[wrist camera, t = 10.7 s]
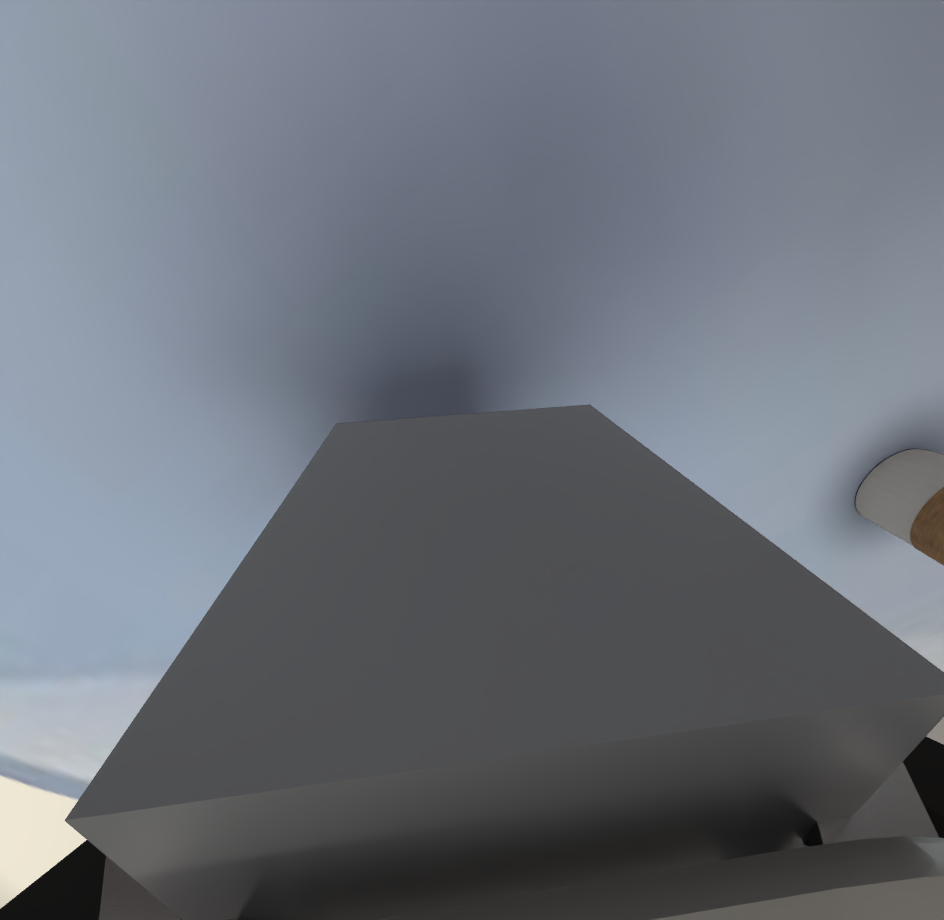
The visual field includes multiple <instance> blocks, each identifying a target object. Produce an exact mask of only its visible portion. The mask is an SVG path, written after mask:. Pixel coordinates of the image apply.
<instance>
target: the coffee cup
mask: <svg viewBox="0 0 944 920" xmlns="http://www.w3.org/2000/svg"><path fill="white" fill-rule="evenodd" d="M855 503H856V508H857V511H858V512H859V513H860V515H861V516H863V517H864V518H866V519H868V520H870V521H871V522H873V523H875V524H876V525H878V526H880V527H881V528H883V529H885V530H887V531H888V532H890V533H892V534H893V535H895V536H897V537H899V538H900V539H902V540H904V541H905V542H907V543H909V544H911V545H912V546H914V547H915V548H916V549H918V550H919V551H921V552H922V553H924V554H926V555H927V556H929V557H931V558H932V559H934V560H936V561H937V562H939V563H940V564H942V565H944V455H943V454H939V453H935V452H931V451H926V450H922V449H911V450H906V451H903V452H900V453H897V454H895V455H893V456H891V457H889V458H888V459H886V460H885V461H883V462H882V463H880V464H879V465H878V466H877V467H876V468H874V469H873V470H872V471H871V473H870V474H869V475H868V476H867V477H866V478H865V480H864V481H863V483H862V484H861V486H860V488H859V490H858V493H857V495H856V501H855Z"/></svg>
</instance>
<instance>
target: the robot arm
mask: <svg viewBox="0 0 944 920" xmlns="http://www.w3.org/2000/svg"><path fill="white" fill-rule="evenodd" d="M802 840H803V844H804V845H806V846H808V847H803V848H796V849H789V850H782V851H776V852H770V853H764V854H758V855H752V856H746V857H740V858H734V859H728V860H722V861H716V862H710V863H703V864H697V865H691V866H685V867H679V868H673V869H667V870H661V871H655V872H649V873H643V874H638V875H632V876H626V877H620V878H614V879H608V880H603V881H597V882H591V883H585V884H579V885H573V886H568V887H562V888H556V889H550V890H544V891H539V892H533V893H527V894H521V895H516V896H510V897H504V898H498V899H492V900H487V901H481V902H475V903H469V904H464V905H458V906H453V907H447V908H441V909H436V910H430V911H424V912H419V913H413V914H408V915H402V916H396V917H391V918H385V919H380V920H944V745H943V744H941V743H939V742H936V741H934V740H932V739H930V738H928V737H925V738H924V739H923V740H922V741H921V742H920V743H919V744H918V745H917V746H916V747H915V749H914V750H913V751H912V752H911V753H910V754H909V755H908V756H907V757H906V758H905V760H904V761H903V762H902V763H901V764H900V765H899V766H898V767H897V768H896V769H895V770H894V772H893V773H892V774H891V775H890V776H889V777H888V778H887V779H886V780H885V781H884V783H883V784H882V785H881V786H880V787H879V788H878V789H877V790H876V791H875V792H874V793H873V795H872V796H871V797H870V798H869V799H868V800H867V801H866V802H865V803H864V804H863V806H862V807H861V808H860V809H859V810H858V811H857V812H856V813H855V814H854V815H851V816H845V817H839V818H833V819H827V820H821V821H817V822H816V823H815V824H814V825H813V827H812V828H811V829H810V830H809V831H808V833H807V834H806V835H805V836H804V837H803V839H802ZM0 920H182V919H181V918H180V917H179V916H177V915H176V914H175V913H174V912H173V911H171V910H170V909H169V908H168V907H167V906H165V905H164V904H163V903H162V902H161V901H159V900H158V899H157V898H156V897H155V896H154V895H152V894H151V893H150V892H149V891H148V890H146V889H145V888H144V887H143V886H142V885H140V884H139V883H138V882H137V881H136V880H135V879H133V878H132V877H131V876H130V875H129V874H127V873H126V872H125V871H124V870H123V869H121V868H120V867H119V866H118V865H117V864H116V863H114V862H113V861H112V860H111V859H110V858H108V857H107V856H106V855H105V854H104V853H102V852H101V851H100V850H99V849H98V848H97V847H95V846H94V845H93V844H92V843H91V842H89V841H88V840H86V841H85V842H84V843H83V844H81V845H80V846H79V847H78V848H76V849H75V850H74V851H73V852H71V853H70V854H69V855H68V856H66V857H65V858H64V859H63V860H61V861H60V862H59V863H57V865H55V866H54V867H52V868H51V869H50V870H49V871H48V872H46V873H45V874H44V875H42V876H41V877H40V878H39V879H38V880H36V881H35V882H34V883H32V884H31V885H30V886H29V887H27V888H26V889H25V890H24V891H22V892H21V893H20V894H19V895H17V896H16V897H15V898H14V899H12V900H11V901H10V902H9V903H7V904H6V905H5V906H3V907H2V908H1V909H0ZM227 920H239V919H238V918H233V919H227Z"/></svg>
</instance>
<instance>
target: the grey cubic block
mask: <svg viewBox="0 0 944 920" xmlns="http://www.w3.org/2000/svg"><path fill="white" fill-rule="evenodd" d="M943 717H944V672H942V671H941V670H940V669H939V668H937V667H936V666H935V665H933V664H932V663H931V662H929V661H928V660H927V659H925V658H924V657H923V656H921V655H920V654H919V653H917V652H916V651H915V650H913V649H912V648H911V647H909V646H908V645H907V644H905V643H904V642H903V641H902V640H900V639H899V638H898V637H896V636H895V635H894V634H892V633H891V632H890V631H888V630H887V629H886V628H884V627H883V626H882V625H880V624H879V623H878V622H876V621H875V620H874V619H872V618H871V617H870V616H868V615H867V614H866V613H864V612H863V611H862V610H861V609H859V608H858V607H857V606H855V605H854V604H853V603H851V602H850V601H849V600H847V599H846V598H845V597H843V596H842V595H841V594H839V593H838V592H837V591H835V590H834V589H833V588H831V587H830V586H829V585H827V584H826V583H825V582H824V581H822V580H821V579H820V578H818V577H817V576H816V575H814V574H813V573H812V572H810V571H809V570H808V569H806V568H805V567H804V566H802V565H801V564H800V563H798V562H797V561H796V560H794V559H793V558H792V557H790V556H789V555H788V554H787V553H785V552H784V551H783V550H781V549H780V548H779V547H777V546H776V545H775V544H773V543H772V542H771V541H769V540H768V539H767V538H765V537H764V536H763V535H761V534H760V533H759V532H757V531H756V530H755V529H753V528H752V527H751V526H750V525H748V524H747V523H746V522H744V521H743V520H742V519H740V518H739V517H738V516H736V515H735V514H734V513H732V512H731V511H730V510H728V509H727V508H726V507H724V506H723V505H722V504H720V503H719V502H718V501H716V500H715V499H714V498H713V497H711V496H710V495H709V494H707V493H706V492H705V491H703V490H702V489H701V488H699V487H698V486H697V485H695V484H694V483H693V482H691V481H690V480H689V479H687V478H686V477H685V476H683V475H682V474H681V473H679V472H678V471H677V470H676V469H674V468H673V467H672V466H670V465H669V464H668V463H666V462H665V461H664V460H662V459H661V458H660V457H658V456H657V455H656V454H654V453H653V452H652V451H650V450H649V449H648V448H646V447H645V446H644V445H642V444H641V443H640V442H639V441H637V440H636V439H635V438H633V437H632V436H631V435H629V434H628V433H627V432H625V431H624V430H623V429H621V428H620V427H619V426H617V425H616V424H615V423H613V422H612V421H611V420H609V419H608V418H607V417H605V416H604V415H603V414H602V413H600V412H599V411H598V410H596V409H595V408H594V407H592V406H591V405H579V406H566V407H552V408H539V409H526V410H512V411H499V412H486V413H472V414H459V415H446V416H432V417H419V418H406V419H392V420H379V421H365V422H352V423H339V424H336V425H335V426H334V428H333V429H332V431H331V432H330V434H329V435H328V437H327V438H326V440H325V441H324V442H323V444H322V445H321V447H320V448H319V450H318V451H317V453H316V454H315V456H314V457H313V459H312V460H311V461H310V463H309V464H308V466H307V467H306V469H305V470H304V472H303V473H302V475H301V476H300V478H299V479H298V480H297V482H296V483H295V485H294V486H293V488H292V489H291V491H290V492H289V494H288V495H287V497H286V498H285V499H284V501H283V502H282V504H281V505H280V507H279V508H278V510H277V511H276V513H275V514H274V515H273V517H272V518H271V520H270V521H269V523H268V524H267V526H266V527H265V529H264V530H263V532H262V533H261V534H260V536H259V537H258V539H257V540H256V542H255V543H254V545H253V546H252V548H251V549H250V551H249V552H248V553H247V555H246V556H245V558H244V559H243V561H242V562H241V564H240V565H239V567H238V568H237V570H236V571H235V572H234V574H233V575H232V577H231V578H230V580H229V581H228V583H227V584H226V586H225V587H224V589H223V590H222V591H221V593H220V594H219V596H218V597H217V599H216V600H215V602H214V603H213V605H212V606H211V608H210V609H209V610H208V612H207V613H206V615H205V616H204V618H203V619H202V621H201V622H200V624H199V625H198V627H197V628H196V629H195V631H194V632H193V634H192V635H191V637H190V638H189V640H188V641H187V643H186V644H185V645H184V647H183V648H182V650H181V651H180V653H179V654H178V656H177V657H176V659H175V660H174V662H173V663H172V664H171V666H170V667H169V669H168V670H167V672H166V673H165V675H164V676H163V678H162V679H161V681H160V682H159V683H158V685H157V686H156V688H155V689H154V691H153V692H152V694H151V695H150V697H149V698H148V700H147V701H146V702H145V704H144V705H143V707H142V708H141V710H140V711H139V713H138V714H137V716H136V717H135V719H134V720H133V721H132V723H131V724H130V726H129V727H128V729H127V730H126V732H125V733H124V735H123V736H122V738H121V739H120V740H119V742H118V743H117V745H116V746H115V748H114V749H113V751H112V752H111V754H110V755H109V757H108V758H107V759H106V761H105V762H104V764H103V765H102V767H101V768H100V770H99V771H98V773H97V774H96V776H95V777H94V778H93V780H92V781H91V783H90V784H89V786H88V787H87V789H86V790H85V792H84V793H83V794H82V796H81V797H80V799H79V800H78V802H77V803H76V805H75V806H74V808H73V809H72V811H71V812H70V814H69V815H68V816H67V818H66V819H65V821H66V822H67V823H68V824H69V825H70V826H72V827H73V828H74V829H75V830H76V831H77V832H79V833H80V834H81V835H82V836H83V837H85V838H86V839H87V840H88V841H89V842H91V843H92V844H93V845H94V846H95V847H97V848H98V849H99V850H100V851H101V852H102V853H104V854H105V855H106V856H107V857H108V858H110V859H111V860H112V861H113V862H114V863H116V864H117V865H118V866H119V867H120V868H121V869H123V870H124V871H125V872H126V873H127V874H129V875H130V876H131V877H132V878H133V879H135V880H136V881H137V882H138V883H139V884H140V885H142V886H143V887H144V888H145V889H146V890H148V891H149V892H150V893H151V894H152V895H154V896H155V897H156V898H157V899H158V900H159V901H161V902H162V903H163V904H164V905H165V906H167V907H168V908H169V909H170V910H171V911H173V912H174V913H175V914H176V915H177V916H179V917H180V918H181V919H182V920H227V919H233V918H238V919H239V920H380V919H385V918H391V917H396V916H402V915H408V914H413V913H419V912H424V911H430V910H436V909H441V908H447V907H453V906H458V905H464V904H469V903H475V902H481V901H487V900H492V899H498V898H504V897H510V896H516V895H521V894H527V893H533V892H539V891H544V890H550V889H556V888H562V887H568V886H573V885H579V884H585V883H591V882H597V881H603V880H608V879H614V878H620V877H626V876H632V875H638V874H643V873H649V872H655V871H661V870H667V869H673V868H679V867H685V866H691V865H697V864H703V863H710V862H716V861H722V860H728V859H734V858H740V857H746V856H752V855H758V854H764V853H770V852H776V851H782V850H789V849H796V848H803V847H808V846H806V845H804V844H803V840H802V839H803V837H804V836H805V835H806V834H807V833H808V831H809V830H810V829H811V828H812V827H813V825H814V824H815V823H816V822H817V821H821V820H827V819H833V818H839V817H845V816H851V815H854V814H855V813H856V812H857V811H858V810H859V809H860V808H861V807H862V806H863V804H864V803H865V802H866V801H867V800H868V799H869V798H870V797H871V796H872V795H873V793H874V792H875V791H876V790H877V789H878V788H879V787H880V786H881V785H882V784H883V783H884V781H885V780H886V779H887V778H888V777H889V776H890V775H891V774H892V773H893V772H894V770H895V769H896V768H897V767H898V766H899V765H900V764H901V763H902V762H903V761H904V760H905V758H906V757H907V756H908V755H909V754H910V753H911V752H912V751H913V750H914V749H915V747H916V746H917V745H918V744H919V743H920V742H921V741H922V740H923V739H924V738H925V737H926V735H927V734H928V733H929V732H930V731H931V730H932V729H933V728H934V727H935V726H936V725H937V723H938V722H939V721H940V720H941V719H942V718H943Z"/></svg>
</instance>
